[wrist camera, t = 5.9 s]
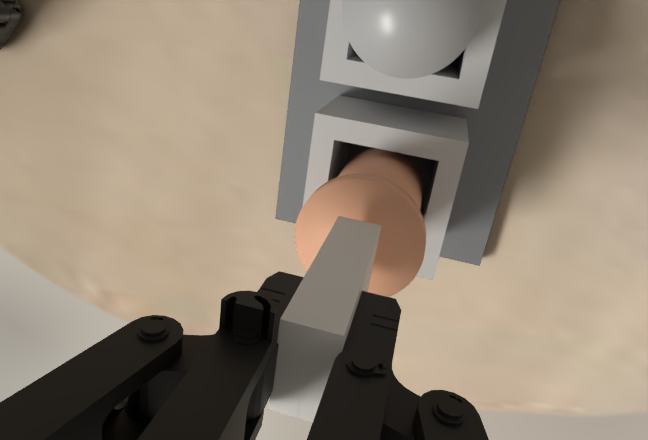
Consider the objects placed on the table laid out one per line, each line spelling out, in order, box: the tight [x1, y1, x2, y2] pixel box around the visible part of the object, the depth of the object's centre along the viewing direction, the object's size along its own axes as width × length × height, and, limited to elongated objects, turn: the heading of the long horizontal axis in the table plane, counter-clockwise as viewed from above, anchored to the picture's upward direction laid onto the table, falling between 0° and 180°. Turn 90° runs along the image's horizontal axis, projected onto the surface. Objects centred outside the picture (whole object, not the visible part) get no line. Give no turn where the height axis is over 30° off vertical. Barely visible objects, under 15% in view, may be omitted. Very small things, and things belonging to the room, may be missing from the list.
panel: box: [275, 0, 560, 280], centre depth 24 cm, size 17×12×6 cm
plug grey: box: [342, 0, 482, 79], centre depth 21 cm, size 5×5×6 cm
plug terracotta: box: [294, 148, 426, 297], centre depth 21 cm, size 5×5×6 cm
